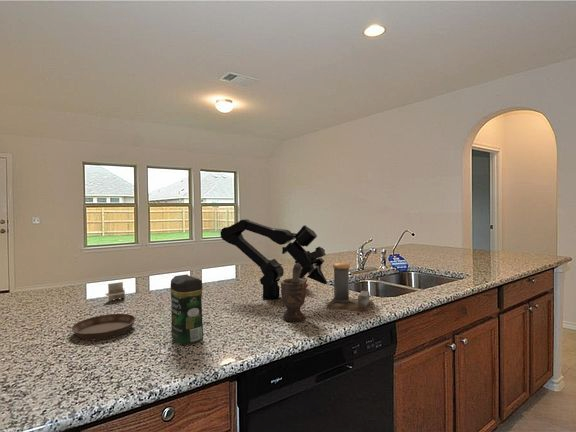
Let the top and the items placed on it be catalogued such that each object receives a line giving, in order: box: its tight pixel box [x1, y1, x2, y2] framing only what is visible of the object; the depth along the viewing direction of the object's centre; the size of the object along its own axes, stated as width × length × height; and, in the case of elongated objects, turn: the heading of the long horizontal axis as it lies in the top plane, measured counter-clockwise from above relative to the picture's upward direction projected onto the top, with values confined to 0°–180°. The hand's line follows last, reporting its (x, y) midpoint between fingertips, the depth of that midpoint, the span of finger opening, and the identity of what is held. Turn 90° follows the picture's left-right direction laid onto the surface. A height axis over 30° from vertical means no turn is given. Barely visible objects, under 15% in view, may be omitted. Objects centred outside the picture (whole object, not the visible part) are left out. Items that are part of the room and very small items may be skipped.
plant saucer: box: [70, 313, 136, 340], centre depth 111 cm, size 18×18×3 cm
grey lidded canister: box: [332, 262, 351, 303], centre depth 138 cm, size 6×6×14 cm
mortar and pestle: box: [280, 263, 307, 323], centre depth 120 cm, size 12×9×20 cm
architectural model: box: [105, 281, 126, 301], centre depth 146 cm, size 3×7×7 cm, turn 130°
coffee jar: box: [170, 273, 204, 345], centre depth 104 cm, size 10×8×19 cm
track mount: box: [326, 290, 373, 313], centre depth 137 cm, size 15×12×5 cm
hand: (326, 283), depth 141 cm, fingers closed
